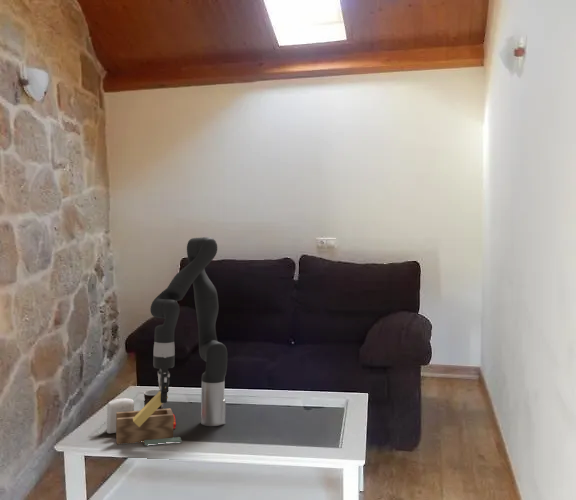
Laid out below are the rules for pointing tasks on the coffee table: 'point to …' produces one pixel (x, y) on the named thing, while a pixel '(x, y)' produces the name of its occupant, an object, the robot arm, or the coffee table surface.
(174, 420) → the candy bar
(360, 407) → the coffee table surface
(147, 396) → the coffee mug
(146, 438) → the pocket block
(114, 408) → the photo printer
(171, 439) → the grey-green flat bar
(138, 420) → the slat
